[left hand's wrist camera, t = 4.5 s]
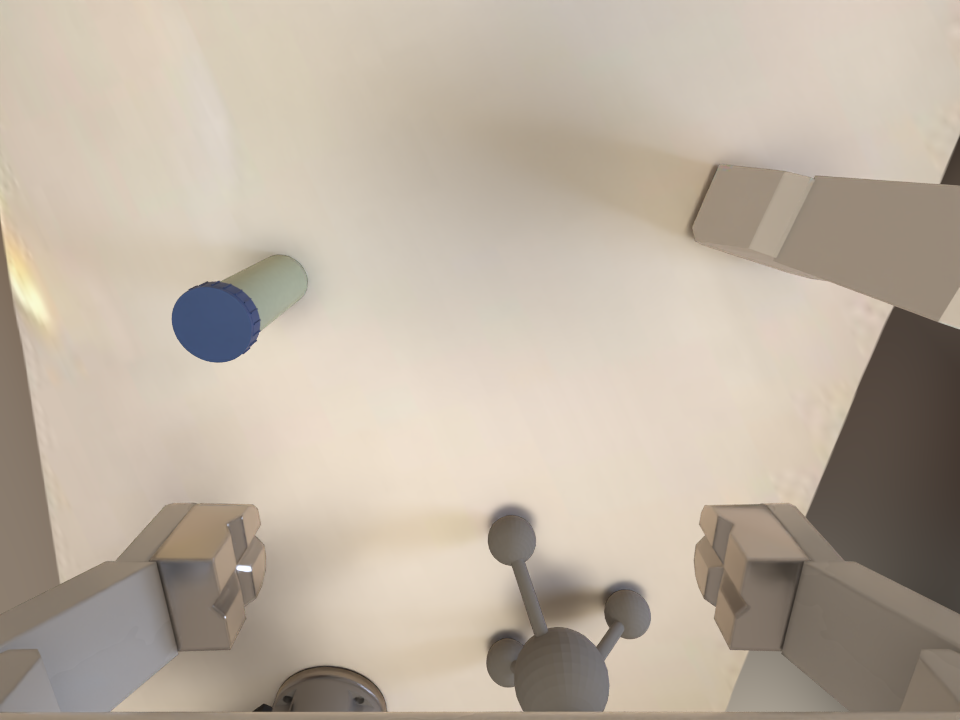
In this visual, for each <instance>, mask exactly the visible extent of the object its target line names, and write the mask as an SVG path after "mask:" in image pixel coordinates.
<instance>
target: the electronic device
mask: <svg viewBox="0 0 960 720" xmlns="http://www.w3.org/2000/svg"><path fill="white" fill-rule="evenodd" d="M692 229H693V234H694V238H695V241H696V242H698V243H700V244H702V245H705V246H708V247H711V248H714V249H717V250H720V251H723V252H726V253H729V254H732V255H736V256H739V257H742V258H745V259H748V260H751V261H754V262H757V263H760V264H763V265H766V266H769V267H772V268H775V269H778V270H781V271H784V272H788V273H792V274H795V275H799V276H803V277H807V278H810V279H817V280H823V281H829V282H832V283H835V284H837V285H840V286H843V287H845V288H848V289H851V290H853V291H856V292H859V293H862V294H864V295H867V296H870V297H872V298H875V299H878V300H880V301H883V302H886V303H888V304H891V305H894V306H897V307H899V308H902V309H905V310H907V311H910V312H913V313H916V314H918V315H921V316H924V317H926V318H929V319H932V320H934V321H937V322H940V323H943V324H946V325H949V326H952V327H955V328H958V329H960V186H956V185H942V184H927V183H913V182H899V181H885V180H871V179H856V178H842V177H828V176H815V177H814V179H813V178H811V177H807V176H803V175H799V174H795V173H791V172H787V171H780V170H770V169H761V168H751V167H742V166H732V165H723V164H719V166H718V168H717V171H716V173H715V175H714V178H713V180H712V182H711V185H710V187H709V189H708V192H707V194H706V196H705V198H704V201H703V203H702V205H701V208H700V210H699V212H698V215H697V217H696V219H695V222H694V224H693V226H692Z"/></svg>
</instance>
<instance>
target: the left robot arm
mask: <svg viewBox="0 0 960 720" xmlns="http://www.w3.org/2000/svg"><path fill="white" fill-rule="evenodd" d="M260 525H261V522H260V517H259V512H258V509H257V508H256V507H255V506H254V505H253V504H210V503H200V504H197V503H172V504H169V505H166V506H165V507H164V508H163V509H162V510H161V511H160V512H159V513H158V514H157V515H156V516H155V518H154V519H153V520H152V521H151V522H150V523H149V524H148V525H147V526H146V528H145V529H144V530H143V531H142V532H141V533H140V534H139V535H138V536H137V538H136V539H135V540H134V541H133V542H132V543H131V544H130V545H129V546H128V548H127V549H126V550H125V551H124V552H123V553H122V554H121V555H120V556H119V558H118V559H117V560H116V561H111V562H104V563H102V564H100V565H98V566H96V567H94V568H92V569H90V570H88V571H86V572H84V573H82V574H80V575H78V576H76V577H74V578H72V579H70V580H68V581H66V582H64V583H62V584H60V585H58V586H56V587H54V588H52V589H50V590H48V591H46V592H44V593H42V594H40V595H38V596H36V597H34V598H32V599H30V600H28V601H26V602H24V603H22V604H20V605H18V606H16V607H14V608H12V609H10V610H8V611H6V612H4V613H2V614H0V720H960V614H958V613H956V612H954V611H952V610H950V609H948V608H946V607H944V606H942V605H940V604H938V603H936V602H934V601H932V600H930V599H928V598H926V597H924V596H922V595H920V594H918V593H916V592H914V591H912V590H910V589H908V588H906V587H904V586H902V585H900V584H898V583H896V582H894V581H892V580H890V579H888V578H886V577H884V576H882V575H880V574H878V573H876V572H874V571H872V570H870V569H868V568H866V567H864V566H862V565H860V564H858V563H856V562H847V561H844V560H843V559H842V558H841V557H840V555H839V554H838V553H837V552H836V551H835V550H834V549H833V548H832V546H831V545H830V544H829V543H828V542H827V541H826V540H825V539H824V538H823V536H822V535H821V534H820V533H819V532H818V531H817V530H816V529H815V528H814V527H813V525H812V524H811V523H810V522H809V521H808V520H807V519H806V518H805V516H804V515H803V514H802V513H801V512H800V511H799V510H798V509H797V508H796V506H794V505H792V504H790V503H767V504H748V505H705V506H704V508H703V510H702V512H701V516H700V522H699V525H700V527H701V529H702V530H703V532H704V534H705V536H704V537H703V538H702V539H701V540H700V541H699V542H698V543H697V544H696V547H695V555H694V568H695V577H696V580H697V584H698V587H699V589H700V591H701V593H702V595H703V598H704V599H705V600H707V601H708V602H710V603H711V604H712V605H714V606H715V607H716V609H715V615H714V620H715V622H716V623H717V625H718V627H719V629H720V631H721V633H722V635H723V637H724V639H725V641H726V643H727V645H728V647H729V649H730V650H756V651H782V655H784V656H785V657H786V658H787V659H788V660H790V661H791V662H792V663H793V664H794V665H795V666H797V667H798V668H799V669H800V670H801V671H803V672H804V673H805V674H806V675H807V676H809V677H810V678H811V679H812V680H813V681H814V682H816V683H817V684H818V685H819V686H820V687H822V688H823V689H824V690H825V691H826V692H827V693H829V694H830V695H831V696H832V697H833V698H835V699H836V700H837V701H838V702H839V703H841V704H842V705H843V706H844V707H845V708H847V709H848V710H849V711H850V712H110V711H111V710H113V709H114V708H115V707H116V706H117V705H118V704H120V703H121V702H122V701H123V700H124V699H126V698H127V697H128V696H129V695H130V694H132V693H133V692H134V691H135V690H136V689H137V688H139V687H140V686H141V685H142V684H143V683H145V682H146V681H147V680H148V679H149V678H151V677H152V676H153V675H154V674H155V673H157V672H158V671H159V670H160V669H161V668H162V667H164V666H165V665H166V664H167V663H168V662H170V661H171V660H172V659H173V658H174V657H176V656H177V655H178V651H204V650H230V649H231V647H232V645H233V643H234V641H235V639H236V637H237V635H238V633H239V631H240V629H241V627H242V625H243V623H244V622H245V620H246V615H245V609H244V607H245V606H246V605H248V604H249V603H250V602H252V601H253V600H255V599H256V598H257V595H258V593H259V591H260V589H261V587H262V584H263V579H264V575H265V571H266V553H265V546H264V544H263V543H262V542H261V541H260V540H259V539H258V538H257V537H256V536H255V534H256V532H257V530H258V529H259V527H260Z"/></svg>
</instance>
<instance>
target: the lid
mask: <svg viewBox="0 0 960 720" xmlns="http://www.w3.org/2000/svg"><path fill="white" fill-rule="evenodd" d="M251 299H252V298H250V297H249V296H248V295H247V294H246V293H245V292H243V290H242V289H239V288H237V287H235V286H233V285H232V284H231V283H230V284H228V283H224V282H220V281H217V282H208V281H207V282H205V283H203V284H201V285H199V286H198V285H197V286H195V287H193V288H190V289H189V291H187V292H185V293H184V294H183V295H182V296H181V297H180V298H179V299H178V300H177V302H176V304H175V305H174V308H173V312H172V325H173V330H174V332H175V335H176V337H177V339H178V340H179V342H180V343H181V344H182V345H183V347H184V348H185V349H186V350H187V351H189V352H190V353H191V354H193V355H194V356H196V357H198V358H200V359H202V360H205V361H209V362H227V361H231V360H233V359H235V358H237V357H239V356H240V355H241V354H244V353H245V352H247V351H248V350H249V349H250V347H251V346H252V345H253V344H254V343H255V342H256V341H257V340H256V339H257V337H258V335H259V332H260V331H261V330H260V321H261V319H260V317H259V313H258V308H256V306H255V304H254V302H253V301H252V300H251Z"/></svg>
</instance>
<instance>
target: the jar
mask: <svg viewBox="0 0 960 720" xmlns="http://www.w3.org/2000/svg"><path fill="white" fill-rule="evenodd" d="M220 282H224V283H228V284H230V283H231V284H232V285H233V286H235V287H237V288H239V289H242V290H243V292H245V293H246V294H247V295H248V296H249V297H250V298H252V299H251V300H252V301H253V302H254V304H255V306H256V308H258V313H259V317H260V319H261V321H260V330H261V331H262V330H263V329H264V328H265V327H266V326H268V325H269V324H270V323H271V322H273V321H274V320H275V319H276V318H277V317H279V316H280V315H281V314H282V313H284V312H285V311H286V310H287V309H288V308H290V307H291V306H292V305H293V304H295V303H296V302H297V301H298V300H299V299H301V298H302V297H303V295H304V294H305V292H306V289H307V276H306V273H305V271H304V269H303V267H302V266H301V265H300V264H299V263H298V262H297V261H296V260H294V259H293V258H291V257H288V256H284V255H274V256H271V257H269V258H267V259H265V260H263V261H261V262H259V263H257V264H255V265H253V266H251V267H249V268H247V269H245V270H243V271H241V272H239V273H237V274H235V275H233V276H231V277H229V278H226V279H224V280H222V281H220Z"/></svg>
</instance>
